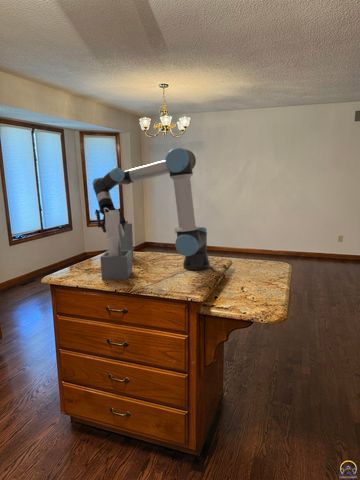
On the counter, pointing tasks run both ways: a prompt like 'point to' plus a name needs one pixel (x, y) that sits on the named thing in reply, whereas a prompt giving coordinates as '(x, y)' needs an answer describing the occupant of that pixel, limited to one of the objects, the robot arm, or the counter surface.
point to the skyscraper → (113, 232)
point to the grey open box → (116, 265)
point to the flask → (127, 238)
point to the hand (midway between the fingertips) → (115, 236)
